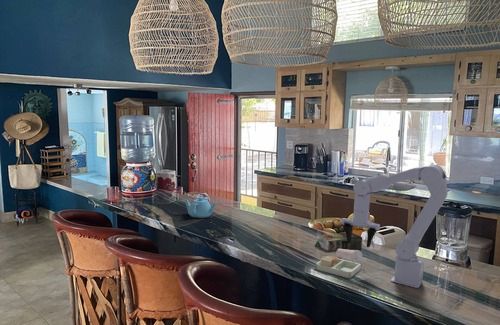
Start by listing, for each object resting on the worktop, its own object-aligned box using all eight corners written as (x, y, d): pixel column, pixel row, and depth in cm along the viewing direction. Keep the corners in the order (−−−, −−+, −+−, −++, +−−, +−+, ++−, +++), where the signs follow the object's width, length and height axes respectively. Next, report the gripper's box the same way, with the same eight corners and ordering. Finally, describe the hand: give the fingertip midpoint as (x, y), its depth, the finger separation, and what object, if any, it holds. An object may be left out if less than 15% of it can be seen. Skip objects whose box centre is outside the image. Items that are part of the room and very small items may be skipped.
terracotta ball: (338, 264, 155) (339, 256, 155) (335, 267, 152) (335, 258, 152) (330, 262, 157) (330, 254, 157) (326, 265, 154) (327, 256, 154)
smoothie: (342, 242, 165) (370, 250, 154) (344, 256, 167) (373, 264, 156) (332, 249, 162) (360, 257, 151) (335, 263, 163) (363, 272, 152)
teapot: (183, 213, 232) (183, 195, 231) (207, 211, 239) (207, 194, 238) (191, 219, 219) (192, 200, 218) (216, 217, 226) (217, 199, 225)
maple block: (329, 271, 147) (330, 261, 147) (319, 269, 150) (320, 259, 149) (333, 268, 151) (334, 258, 150) (324, 266, 153) (324, 256, 152)
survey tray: (360, 271, 152) (361, 264, 152) (349, 280, 142) (350, 273, 142) (327, 262, 160) (327, 255, 159) (314, 270, 150) (315, 263, 150)
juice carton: (326, 253, 172) (327, 239, 171) (313, 246, 181) (314, 233, 180) (362, 249, 180) (363, 236, 180) (348, 243, 189) (349, 231, 188)
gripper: (383, 212, 151) (380, 246, 152) (347, 206, 159) (344, 238, 160) (377, 215, 145) (374, 250, 146) (340, 208, 153) (338, 242, 154)
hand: (358, 244), depth 153 cm, fingers open, 7 cm apart
